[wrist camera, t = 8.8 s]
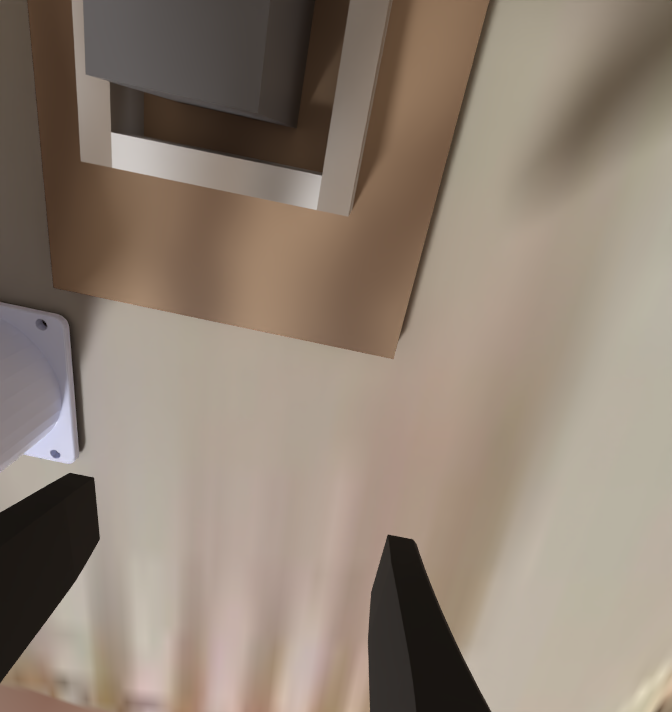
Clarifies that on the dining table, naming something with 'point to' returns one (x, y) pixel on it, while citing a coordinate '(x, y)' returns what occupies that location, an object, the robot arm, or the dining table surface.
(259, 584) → the dining table surface
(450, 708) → the robot arm
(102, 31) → the grey matte cube
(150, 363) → the dining table surface
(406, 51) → the dock
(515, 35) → the dining table surface
